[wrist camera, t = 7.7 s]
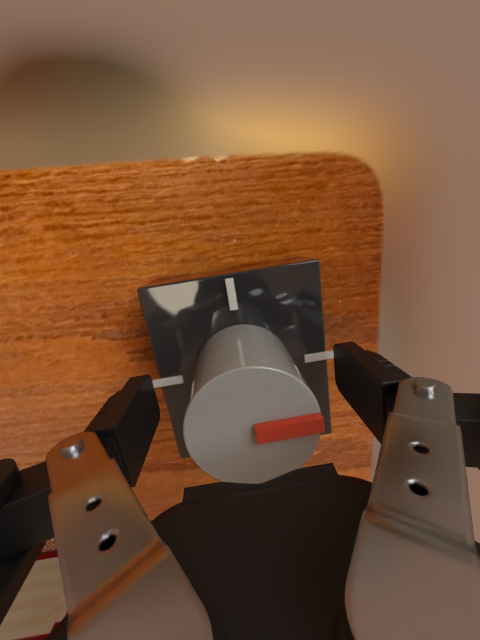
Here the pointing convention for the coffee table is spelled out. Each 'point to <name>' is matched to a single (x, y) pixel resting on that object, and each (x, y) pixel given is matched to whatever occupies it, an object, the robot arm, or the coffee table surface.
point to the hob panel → (235, 323)
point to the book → (37, 602)
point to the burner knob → (249, 408)
